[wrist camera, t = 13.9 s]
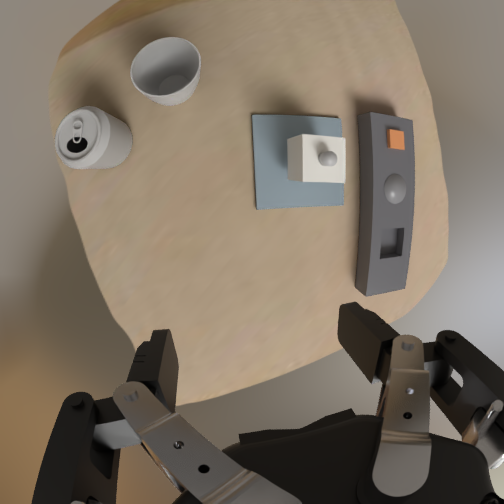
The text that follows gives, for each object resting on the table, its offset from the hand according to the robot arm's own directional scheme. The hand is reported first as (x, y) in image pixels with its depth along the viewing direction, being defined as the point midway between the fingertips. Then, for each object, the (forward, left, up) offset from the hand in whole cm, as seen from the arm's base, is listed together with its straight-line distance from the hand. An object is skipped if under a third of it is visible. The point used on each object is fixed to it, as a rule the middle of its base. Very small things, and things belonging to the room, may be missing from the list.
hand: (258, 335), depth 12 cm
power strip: (-1, +27, -29) cm, 40 cm away
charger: (-8, +12, -29) cm, 32 cm away
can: (-13, -16, -30) cm, 36 cm away
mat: (-8, +12, -29) cm, 33 cm away
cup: (-20, -6, -30) cm, 36 cm away
